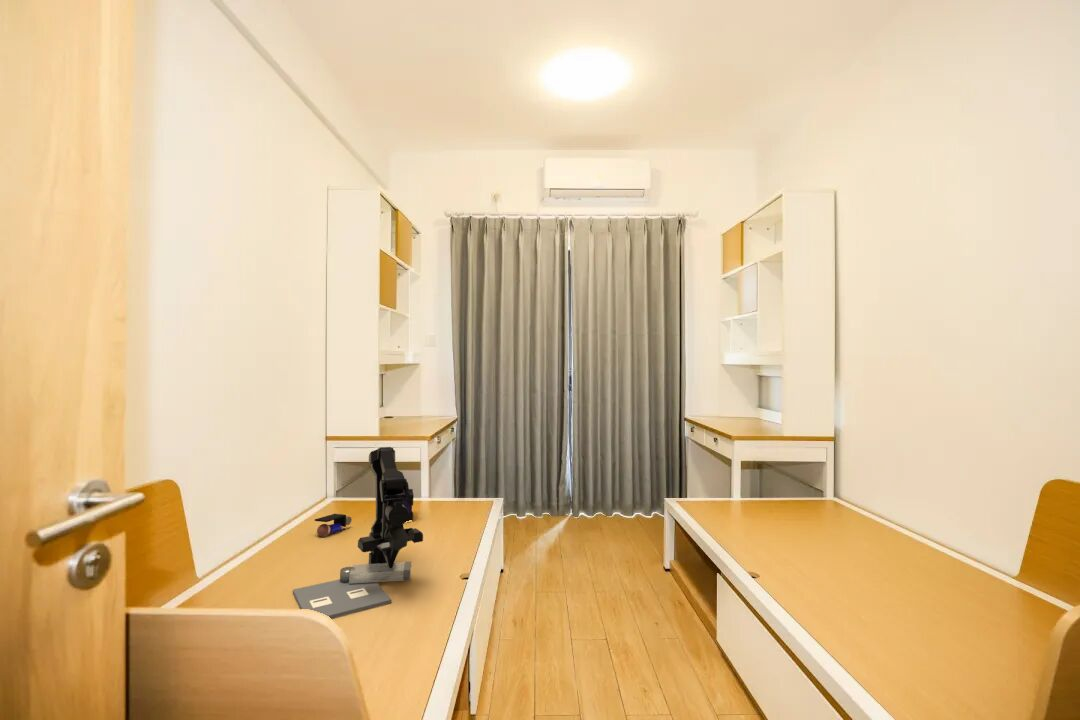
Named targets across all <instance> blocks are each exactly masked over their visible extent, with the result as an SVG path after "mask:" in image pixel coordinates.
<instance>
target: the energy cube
mask: <svg viewBox="0 0 1080 720" xmlns="http://www.w3.org/2000/svg"><path fill="white" fill-rule="evenodd" d="M409 493H410V494H409V496H408V500H403V505H404V506H405V508H406V509H407V511H408V514H409V516H408V519H407V521H409V520H414V519H413V517H414V512H413V506H414V492H413V488H409ZM403 494H404V490H403ZM396 495H401V494H396ZM404 496H405V495H404Z"/></svg>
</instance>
